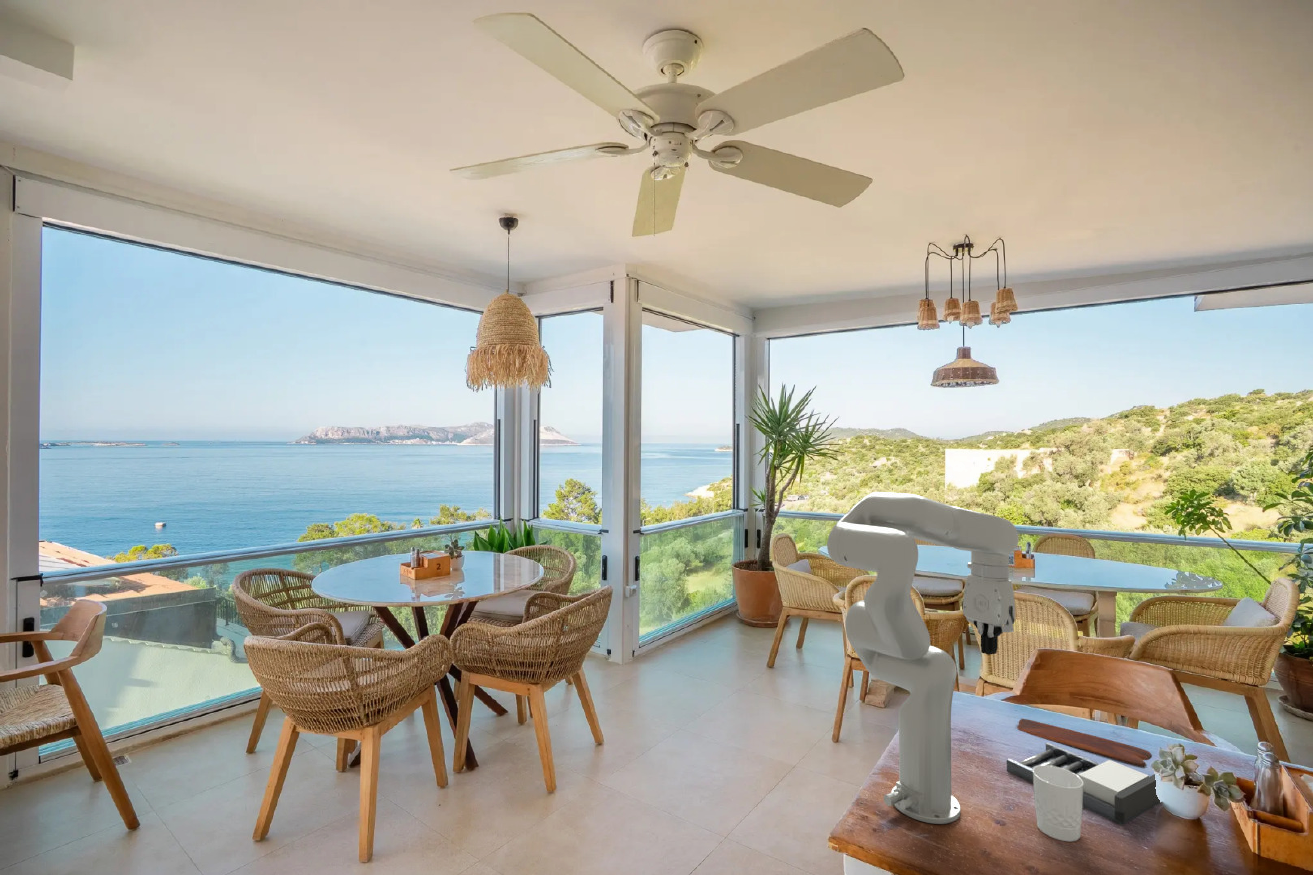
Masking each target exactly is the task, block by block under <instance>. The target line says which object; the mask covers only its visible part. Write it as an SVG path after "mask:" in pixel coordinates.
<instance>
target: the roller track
mask: <svg viewBox="0 0 1313 875" xmlns="http://www.w3.org/2000/svg"><path fill="white" fill-rule="evenodd" d="M1100 764H1101V763H1099V762H1096V761H1094V760H1092V759H1089V758H1087V757H1085V756H1082V755H1079V754H1077V753H1074V752H1072V751H1070V750H1067V749H1065V748H1062V747H1061V746H1058V745H1055V744H1053V743H1050V742H1046V743H1045V751H1042V752H1040V753H1038V754H1035V755H1033V756H1031V757H1028V758H1026V759H1024V760H1020V761H1016V760H1014V759H1012V758H1007V759H1006V771H1007V772H1009V773H1011V774H1013V775H1015V776H1017V777H1019V778H1021V779H1024V780H1026V781H1028V782H1030V783H1032V784H1034V783H1033V768H1034V767H1036V766H1040V765H1049V766H1055V767H1060V768H1063V769H1066V770H1068V771H1071V772H1073V773H1074V774H1076V775H1079V774H1081V773H1083V772H1085V771H1087V770H1089V769H1091V768H1093V767H1095V766H1097V765H1100ZM1155 774H1156V773H1154V774H1152V775H1149V777H1148V778H1146V779H1145V780H1143V781H1141V782H1139V783H1137V784H1135V785H1133V786H1131V787H1130V788H1128V789H1126V790H1124V791H1122V792H1120V793H1118V794H1116V795H1115V806H1114V805H1111V804H1109V803H1107V802H1105V801H1103V800H1100V799H1098V798H1096V797H1094V796H1092V795H1090V794H1087V793H1085V792H1083V807H1082V808H1084V809H1087V810H1088V811H1090V812H1093V813H1094V814H1097V815H1099V816H1101V817H1104V818H1106V819H1108V820H1109V821H1112V822H1114V823H1116V824H1118V825H1120V826H1124V825H1125V824H1127V823H1129V822H1131V821H1133V820H1134V819H1136V818H1137V817H1139V816H1141V815H1143V814H1145V813H1146V812H1148V811H1149V810H1151V809H1153V808H1154V806H1155V805H1156V806H1158V805H1159V804H1161V803H1160V800H1159V799H1158V797H1157V795H1156V789H1155V787H1156V780H1155ZM1156 806H1155V807H1156ZM1147 810H1148V811H1147Z"/></svg>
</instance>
